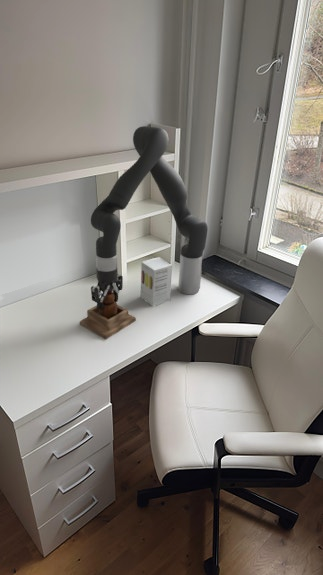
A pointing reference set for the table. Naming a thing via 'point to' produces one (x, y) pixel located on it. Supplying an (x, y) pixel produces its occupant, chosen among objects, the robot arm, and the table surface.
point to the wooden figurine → (109, 306)
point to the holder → (107, 322)
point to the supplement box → (156, 281)
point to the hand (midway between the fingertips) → (107, 305)
